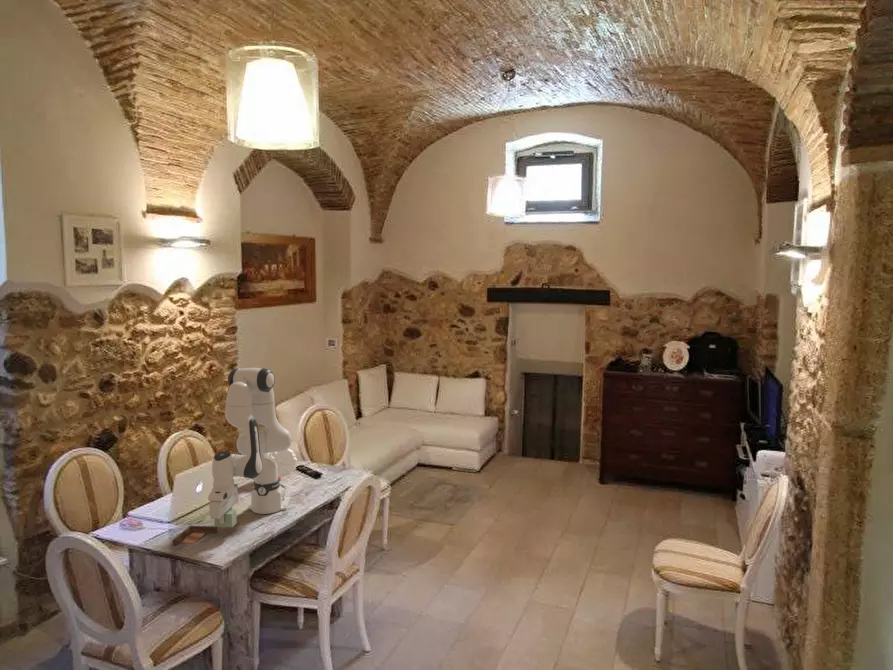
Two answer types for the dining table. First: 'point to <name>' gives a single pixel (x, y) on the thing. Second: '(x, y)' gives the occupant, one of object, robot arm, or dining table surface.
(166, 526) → the dining table surface
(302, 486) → the dining table surface
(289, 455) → the decorative rooster
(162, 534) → the dining table surface
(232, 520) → the sage block
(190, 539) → the brown flat wooden frame
